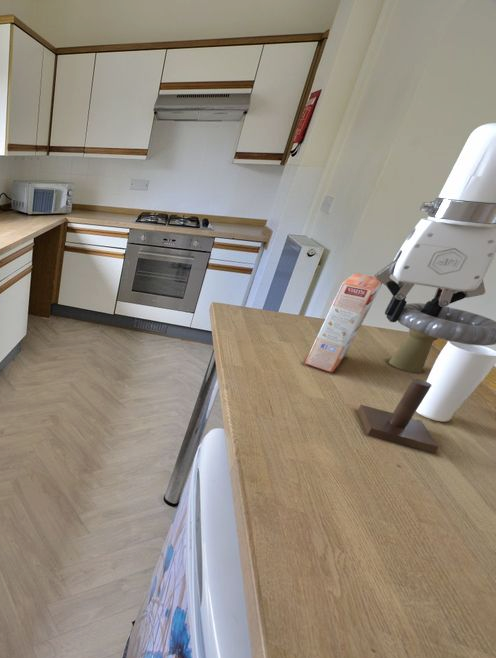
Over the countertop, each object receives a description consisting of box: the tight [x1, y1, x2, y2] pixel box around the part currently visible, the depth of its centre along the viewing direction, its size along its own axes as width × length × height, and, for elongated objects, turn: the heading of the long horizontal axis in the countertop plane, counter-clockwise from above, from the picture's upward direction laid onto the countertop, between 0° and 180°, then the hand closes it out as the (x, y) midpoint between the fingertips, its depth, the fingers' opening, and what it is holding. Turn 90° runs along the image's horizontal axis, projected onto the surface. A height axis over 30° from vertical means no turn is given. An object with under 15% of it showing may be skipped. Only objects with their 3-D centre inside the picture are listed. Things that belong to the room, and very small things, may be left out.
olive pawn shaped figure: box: [388, 328, 439, 374], centre depth 98 cm, size 6×6×11 cm
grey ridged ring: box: [396, 302, 496, 347], centre depth 68 cm, size 13×13×3 cm
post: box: [357, 378, 439, 454], centre depth 74 cm, size 9×9×10 cm
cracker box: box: [304, 272, 383, 374], centre depth 96 cm, size 14×6×21 cm, turn 131°
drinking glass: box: [415, 341, 496, 423], centre depth 78 cm, size 7×7×15 cm
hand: (406, 321), depth 71 cm, fingers closed on grey ridged ring, 3 cm apart
